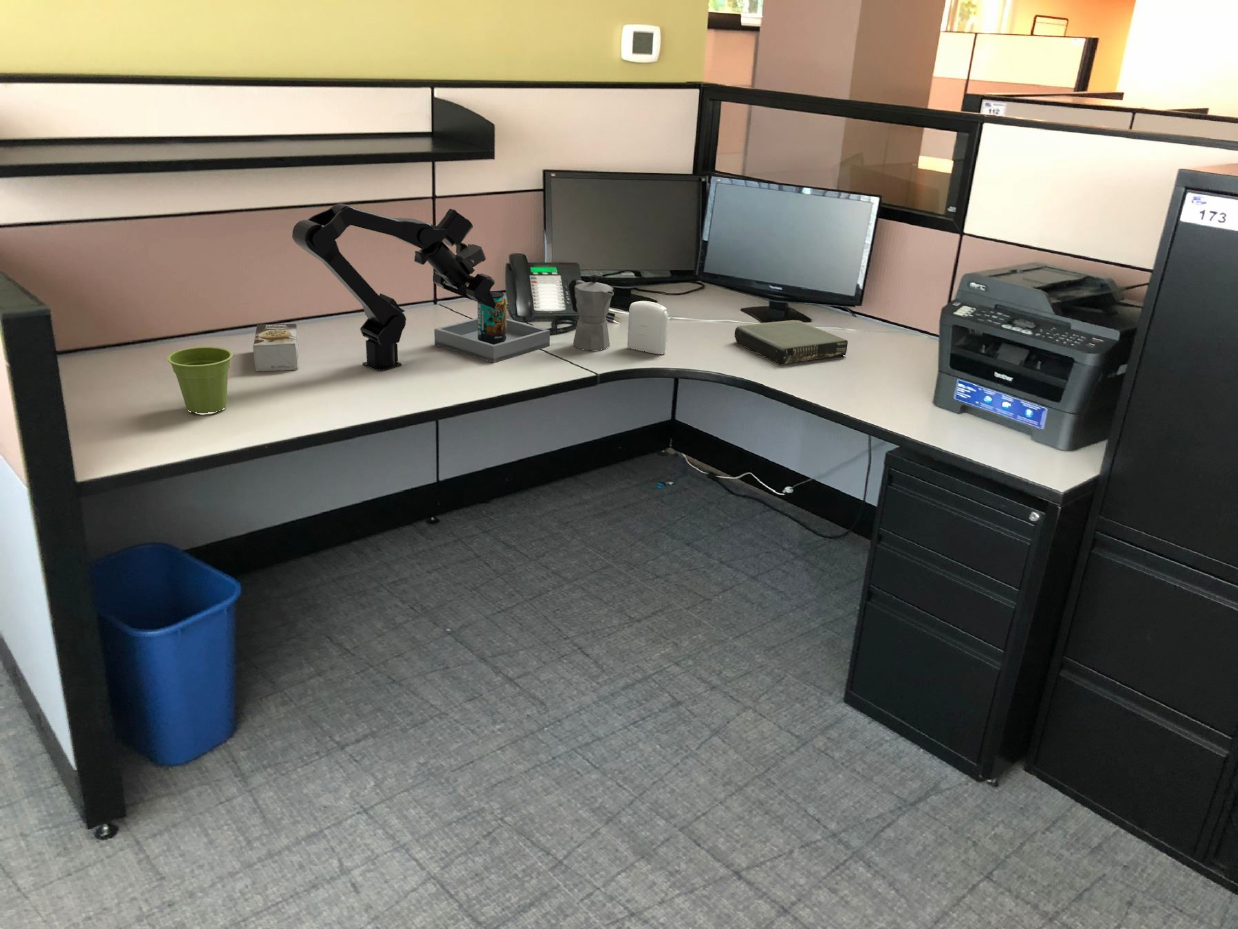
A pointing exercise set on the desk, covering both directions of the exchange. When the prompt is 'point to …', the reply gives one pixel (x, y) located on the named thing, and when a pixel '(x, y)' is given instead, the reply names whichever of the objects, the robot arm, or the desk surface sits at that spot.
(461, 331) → the bin
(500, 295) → the beverage can
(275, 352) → the coffee box
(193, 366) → the plant pot
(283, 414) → the desk surface
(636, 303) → the photo printer
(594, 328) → the coffeepot
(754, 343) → the network switch
